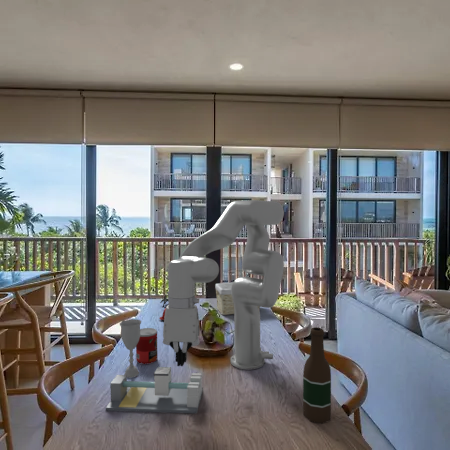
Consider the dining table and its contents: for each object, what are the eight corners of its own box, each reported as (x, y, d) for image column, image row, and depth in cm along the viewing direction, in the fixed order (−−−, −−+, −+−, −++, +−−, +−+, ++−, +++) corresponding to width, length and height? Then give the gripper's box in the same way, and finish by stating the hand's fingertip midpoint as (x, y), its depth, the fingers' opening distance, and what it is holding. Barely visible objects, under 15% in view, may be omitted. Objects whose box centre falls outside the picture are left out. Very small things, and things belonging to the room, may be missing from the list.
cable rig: (202, 390, 104) (202, 370, 103) (196, 413, 92) (196, 391, 92) (121, 387, 106) (121, 368, 105) (105, 410, 94) (105, 388, 93)
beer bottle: (298, 407, 94) (298, 324, 93) (325, 406, 95) (325, 323, 94) (307, 425, 86) (308, 334, 85) (336, 423, 87) (337, 333, 86)
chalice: (122, 381, 110) (121, 327, 109) (119, 372, 116) (117, 321, 115) (144, 375, 113) (143, 323, 112) (140, 367, 119) (139, 318, 118)
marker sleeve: (171, 388, 100) (171, 367, 100) (168, 395, 96) (168, 373, 96) (158, 387, 101) (157, 366, 100) (154, 395, 96) (154, 373, 96)
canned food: (152, 365, 121) (152, 335, 120) (132, 363, 122) (131, 334, 122) (160, 356, 128) (160, 328, 128) (141, 354, 130) (141, 327, 129)
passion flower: (176, 315, 195) (178, 302, 188) (157, 313, 194) (159, 299, 187) (178, 300, 204) (181, 287, 197) (161, 298, 203) (162, 284, 196)
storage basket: (253, 305, 197) (253, 280, 196) (263, 313, 181) (263, 286, 181) (214, 308, 191) (214, 283, 191) (220, 317, 176) (220, 289, 175)
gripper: (208, 299, 100) (207, 359, 100) (159, 298, 101) (159, 357, 101) (205, 306, 92) (204, 371, 93) (152, 304, 93) (152, 369, 94)
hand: (181, 364), depth 97 cm, fingers closed
